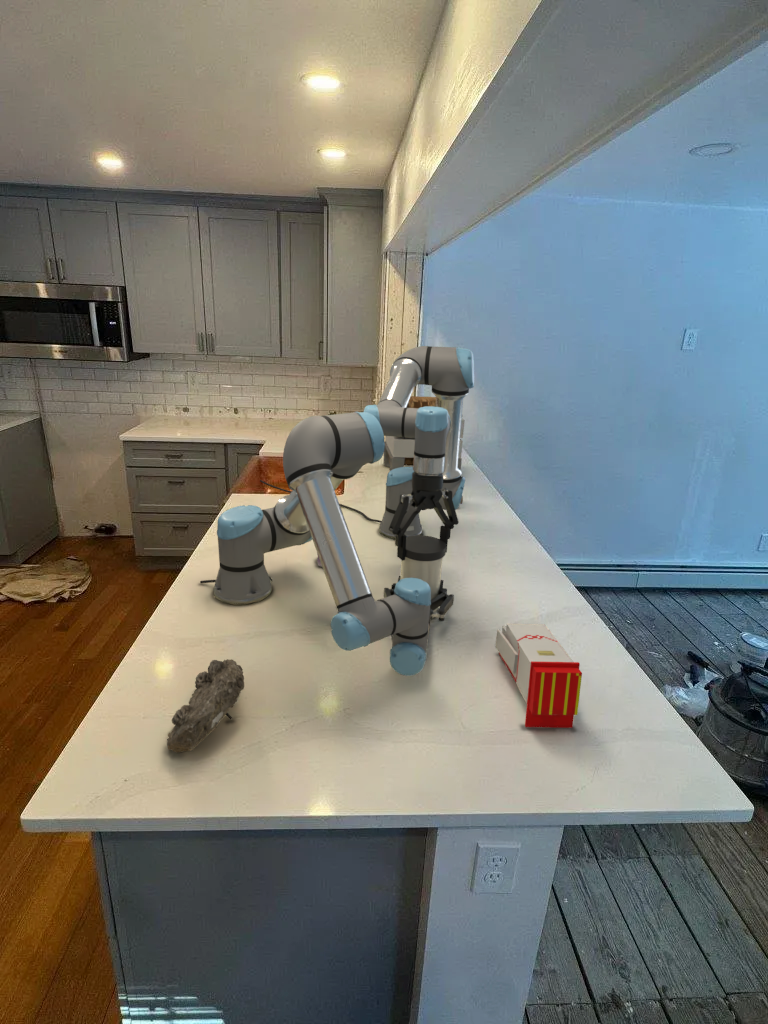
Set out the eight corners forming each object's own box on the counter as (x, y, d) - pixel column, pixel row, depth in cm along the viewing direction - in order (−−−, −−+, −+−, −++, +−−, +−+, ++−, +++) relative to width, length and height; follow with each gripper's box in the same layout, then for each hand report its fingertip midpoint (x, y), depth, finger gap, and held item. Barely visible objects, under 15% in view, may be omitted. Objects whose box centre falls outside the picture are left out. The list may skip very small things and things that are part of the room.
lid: (413, 539, 151) (414, 531, 151) (453, 550, 146) (454, 542, 145) (390, 553, 142) (391, 545, 141) (431, 565, 136) (432, 557, 136)
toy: (542, 608, 134) (591, 669, 104) (537, 660, 136) (583, 734, 107) (491, 607, 133) (526, 668, 104) (487, 660, 136) (520, 733, 107)
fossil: (192, 660, 117) (244, 628, 112) (224, 691, 120) (276, 661, 115) (142, 746, 98) (202, 712, 93) (182, 779, 101) (242, 748, 96)
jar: (410, 597, 156) (415, 534, 150) (444, 608, 151) (450, 544, 145) (391, 612, 148) (394, 546, 142) (426, 625, 143) (431, 557, 137)
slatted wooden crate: (382, 463, 289) (386, 382, 275) (445, 464, 293) (451, 384, 279) (390, 482, 257) (394, 392, 243) (460, 483, 261) (468, 394, 247)
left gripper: (363, 633, 133) (377, 590, 154) (461, 644, 131) (462, 599, 151) (364, 605, 131) (379, 565, 152) (464, 616, 128) (465, 574, 149)
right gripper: (460, 464, 145) (453, 542, 153) (376, 472, 135) (373, 556, 142) (477, 471, 139) (469, 552, 146) (391, 481, 128) (387, 568, 136)
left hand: (420, 582), depth 151 cm, fingers closed on jar, 10 cm apart
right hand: (422, 554), depth 144 cm, fingers closed on lid, 12 cm apart
